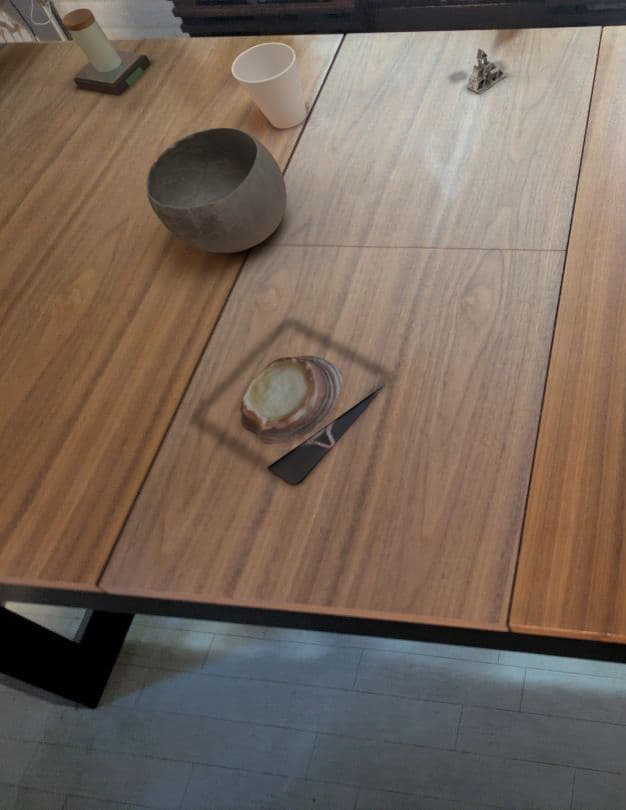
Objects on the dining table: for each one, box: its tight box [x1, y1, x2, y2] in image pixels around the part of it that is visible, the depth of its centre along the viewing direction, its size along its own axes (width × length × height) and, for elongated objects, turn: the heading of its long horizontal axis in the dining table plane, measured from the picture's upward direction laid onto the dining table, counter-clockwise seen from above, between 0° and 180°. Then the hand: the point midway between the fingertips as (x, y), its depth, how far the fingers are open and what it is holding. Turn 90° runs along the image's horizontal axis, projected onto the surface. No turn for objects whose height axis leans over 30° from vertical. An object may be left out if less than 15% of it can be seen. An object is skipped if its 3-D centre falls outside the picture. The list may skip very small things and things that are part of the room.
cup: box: [230, 41, 307, 130], centre depth 133 cm, size 12×12×12 cm
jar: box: [61, 8, 121, 73], centre depth 144 cm, size 6×6×10 cm
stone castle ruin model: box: [466, 48, 507, 96], centre depth 136 cm, size 9×9×8 cm
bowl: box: [145, 127, 288, 254], centre depth 117 cm, size 20×20×15 cm
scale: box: [73, 49, 152, 96], centre depth 150 cm, size 11×11×3 cm
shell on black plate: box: [240, 355, 385, 485], centre depth 102 cm, size 21×20×4 cm
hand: (32, 16), depth 143 cm, fingers open, 8 cm apart
